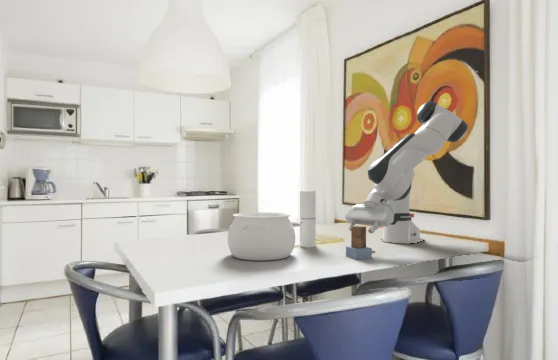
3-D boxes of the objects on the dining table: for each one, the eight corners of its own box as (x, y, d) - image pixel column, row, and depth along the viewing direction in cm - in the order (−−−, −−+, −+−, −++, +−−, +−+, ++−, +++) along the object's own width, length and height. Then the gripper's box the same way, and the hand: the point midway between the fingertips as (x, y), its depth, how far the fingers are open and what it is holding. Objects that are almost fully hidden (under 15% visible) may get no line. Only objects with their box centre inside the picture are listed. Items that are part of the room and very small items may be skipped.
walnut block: (357, 246, 147) (357, 225, 147) (365, 247, 144) (366, 226, 145) (351, 247, 144) (351, 226, 145) (360, 248, 142) (360, 227, 142)
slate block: (361, 255, 149) (361, 245, 149) (371, 258, 142) (371, 248, 143) (345, 256, 146) (346, 246, 146) (356, 260, 140) (356, 249, 140)
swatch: (361, 249, 160) (361, 248, 160) (375, 252, 155) (375, 251, 155) (353, 251, 157) (353, 250, 157) (367, 253, 152) (367, 252, 152)
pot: (288, 265, 130) (288, 218, 130) (215, 262, 135) (216, 217, 135) (300, 250, 159) (300, 212, 159) (240, 248, 164) (240, 211, 164)
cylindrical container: (310, 247, 165) (310, 191, 165) (296, 246, 169) (296, 190, 170) (318, 245, 171) (318, 190, 171) (305, 244, 175) (305, 190, 175)
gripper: (351, 199, 160) (336, 223, 154) (393, 200, 145) (379, 228, 138) (357, 209, 163) (343, 233, 156) (400, 211, 147) (386, 239, 141)
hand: (360, 231), depth 147 cm, fingers open, 8 cm apart
